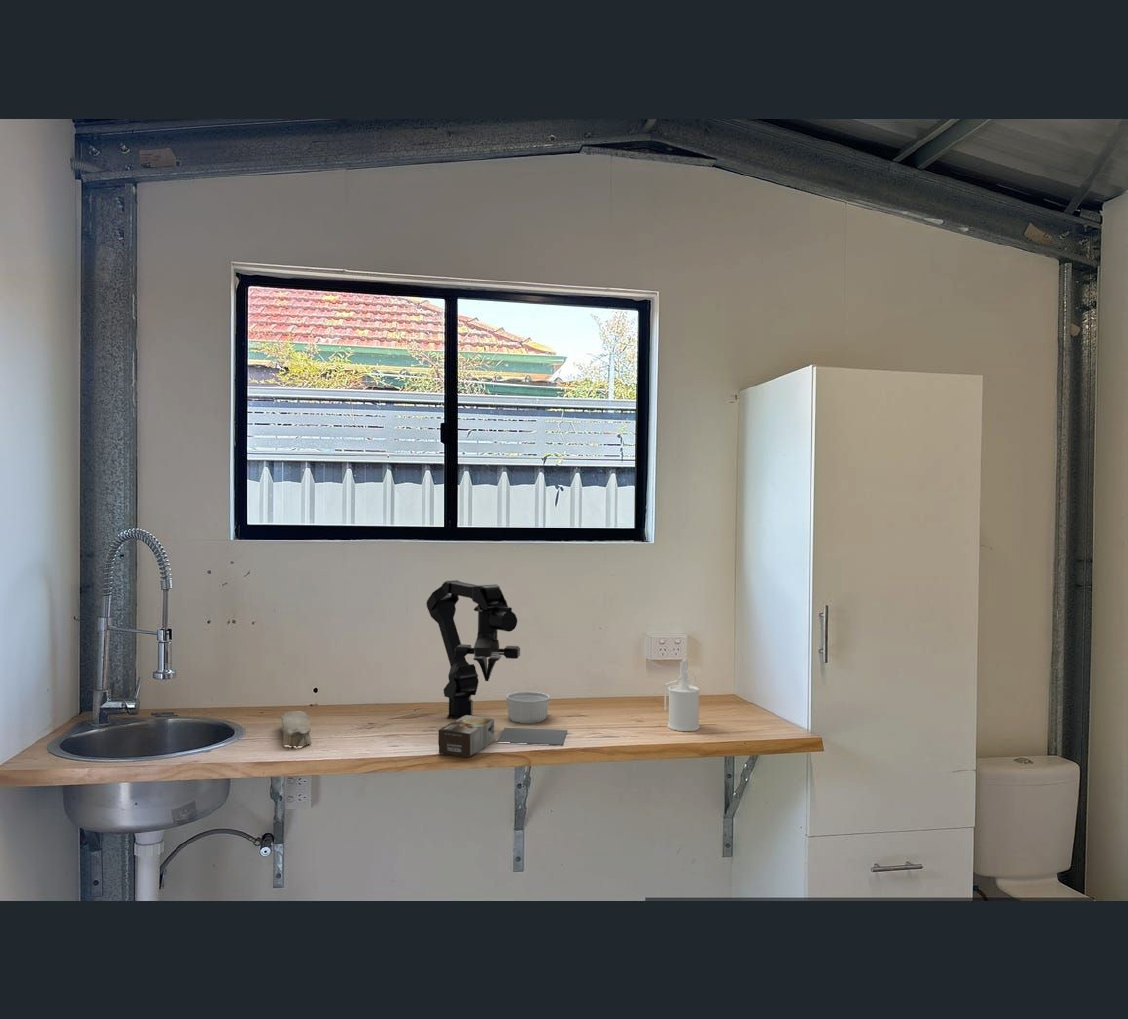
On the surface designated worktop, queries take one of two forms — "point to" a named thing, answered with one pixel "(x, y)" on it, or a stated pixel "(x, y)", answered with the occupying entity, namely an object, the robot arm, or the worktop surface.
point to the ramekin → (527, 706)
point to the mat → (532, 736)
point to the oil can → (683, 702)
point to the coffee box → (466, 736)
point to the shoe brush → (296, 728)
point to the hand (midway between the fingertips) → (487, 680)
